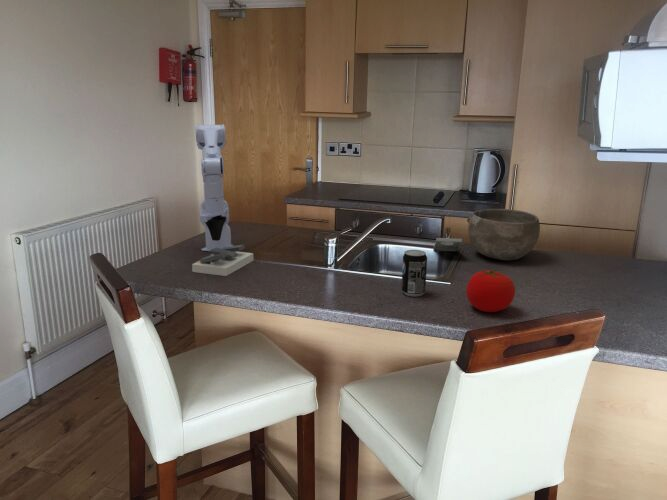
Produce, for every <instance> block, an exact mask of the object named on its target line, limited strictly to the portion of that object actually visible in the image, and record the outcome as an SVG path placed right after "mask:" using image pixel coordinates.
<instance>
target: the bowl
mask: <svg viewBox="0 0 667 500" xmlns="http://www.w3.org/2000/svg"><path fill="white" fill-rule="evenodd" d="M466 222H467V223H468V226H467V228H468V229H467V231H468V239H469V242H470V243H471V245H472V247H473V248H474V249H475V250H476V251H477V252H478V253H480V254H481V255H483V256H485V257H487V258H490V259H495V260H499V261H506V262H507V261H515V260H519V259H520V258H523V257H524V256H525V257H526V255H527V254H529V253H530V252H531V251H532V250H533V249H534V248H535V246H536V245H537V244H538V243H537V242H538V241H539V237H540V232H541V224H540V219H539V218H538V216H537V215H535V214H534V213H531V212H527V211H523V210H518V209H510V208H486V209H481V210H476V211H474V212H472V213H471V215H470V216H468V217H467V219H466Z"/></svg>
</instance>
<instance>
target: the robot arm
mask: <svg viewBox="0 0 667 500" xmlns="http://www.w3.org/2000/svg"><path fill="white" fill-rule="evenodd" d="M194 126H195V127H194V128H195V141H196V146H197V149H199V150H201V153H202V158H201V160H200V166H201V169H200V170H201V175H202V182H203V191H204V193H203V195H204V197H203V198H204V200H202V201H201V202H200V206H199V207H200V215H199V222H200V224H201V225H204V231H205V232H204V233H205V234H204V235H205V246H204V247H203V248H201V251H202V252H203V251H204V252H210V250H212V249H214V248H220V249H222V248H224V247H230V246H234V244H232V234H231V227H230V226H229V225H228V224H229V222H230V214H229V213H230V207H229V204H228V201H226V200H225V198H224V196H225V195H224V178H223V177H224V173H225V167H224V166H225V165H224V159H223V156H222V150H224V149H225V147H226V140H227V139H226V137H227V136H226V126H225V125H224V123H222V124H198V123H196V125H194Z"/></svg>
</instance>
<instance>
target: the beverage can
mask: <svg viewBox="0 0 667 500" xmlns="http://www.w3.org/2000/svg"><path fill="white" fill-rule="evenodd" d="M427 267H428V256H427V253H426V251H424V250H420V249H407V250H405V251H404V253H403V255H402V270H401V271H402V272H401V273H402V274H401V292H402V293H403V294H404V295H405V296H406V297H417V298H418V297H421V296H423V295H424V294H425V293H426V287H427V286H426V285H427V269H428V268H427Z"/></svg>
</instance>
